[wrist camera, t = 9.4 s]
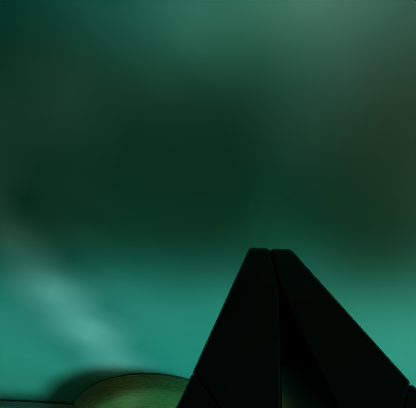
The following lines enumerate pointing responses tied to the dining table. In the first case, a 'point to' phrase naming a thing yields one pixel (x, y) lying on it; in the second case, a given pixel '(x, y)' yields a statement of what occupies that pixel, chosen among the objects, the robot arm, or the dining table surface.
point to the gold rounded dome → (134, 392)
